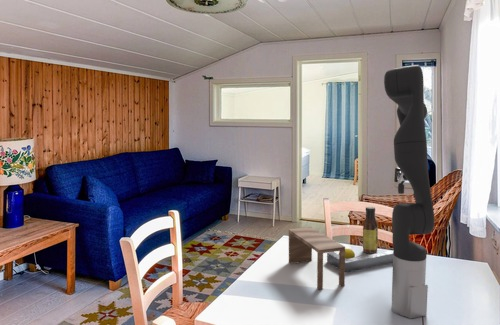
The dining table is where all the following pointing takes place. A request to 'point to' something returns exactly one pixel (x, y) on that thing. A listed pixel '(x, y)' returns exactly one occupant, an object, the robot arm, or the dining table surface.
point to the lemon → (349, 254)
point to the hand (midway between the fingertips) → (408, 195)
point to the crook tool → (361, 260)
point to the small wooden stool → (313, 239)
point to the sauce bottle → (370, 232)
